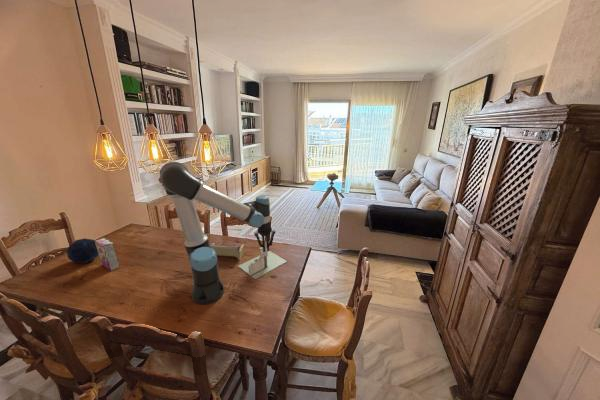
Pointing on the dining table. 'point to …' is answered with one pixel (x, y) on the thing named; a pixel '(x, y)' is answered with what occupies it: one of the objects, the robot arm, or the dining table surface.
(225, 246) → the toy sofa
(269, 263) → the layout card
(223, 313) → the dining table surface
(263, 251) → the fence hinged panel
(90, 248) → the decorative orb
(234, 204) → the robot arm
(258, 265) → the fence fixed panel
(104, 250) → the candy bar box
